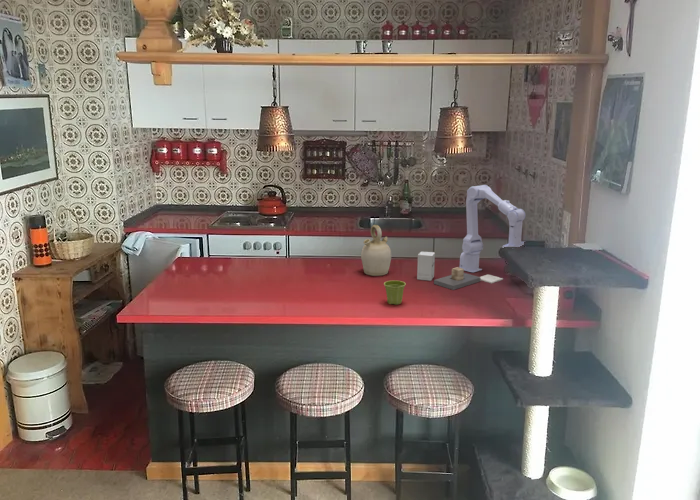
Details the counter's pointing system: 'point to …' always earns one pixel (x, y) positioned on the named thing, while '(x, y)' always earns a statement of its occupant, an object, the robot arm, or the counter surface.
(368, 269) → the jug
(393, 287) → the plant pot
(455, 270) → the plug
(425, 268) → the supplement box
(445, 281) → the grey flat block
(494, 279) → the mat
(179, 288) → the counter surface
